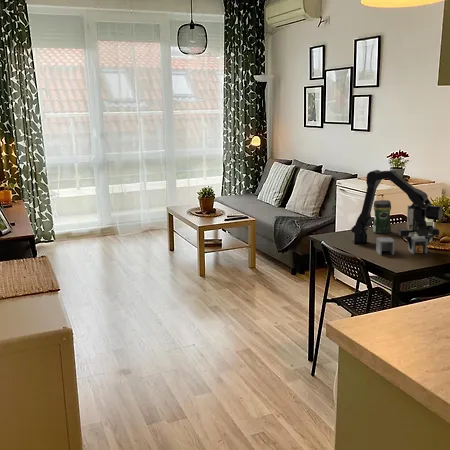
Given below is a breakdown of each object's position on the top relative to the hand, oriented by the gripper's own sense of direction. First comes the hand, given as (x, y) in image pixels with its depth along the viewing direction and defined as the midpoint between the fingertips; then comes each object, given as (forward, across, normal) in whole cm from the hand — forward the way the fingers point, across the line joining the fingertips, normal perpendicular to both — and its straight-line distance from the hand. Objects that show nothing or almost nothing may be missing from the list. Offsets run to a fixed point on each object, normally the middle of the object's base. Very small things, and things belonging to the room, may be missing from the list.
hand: (417, 248), depth 254 cm
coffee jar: (+2, -7, +39) cm, 40 cm away
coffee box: (+2, +8, +30) cm, 31 cm away
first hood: (+2, -16, 0) cm, 16 cm away
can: (+2, +9, +18) cm, 20 cm away
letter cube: (+2, 0, 0) cm, 2 cm away
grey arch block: (+2, 0, 0) cm, 2 cm away
